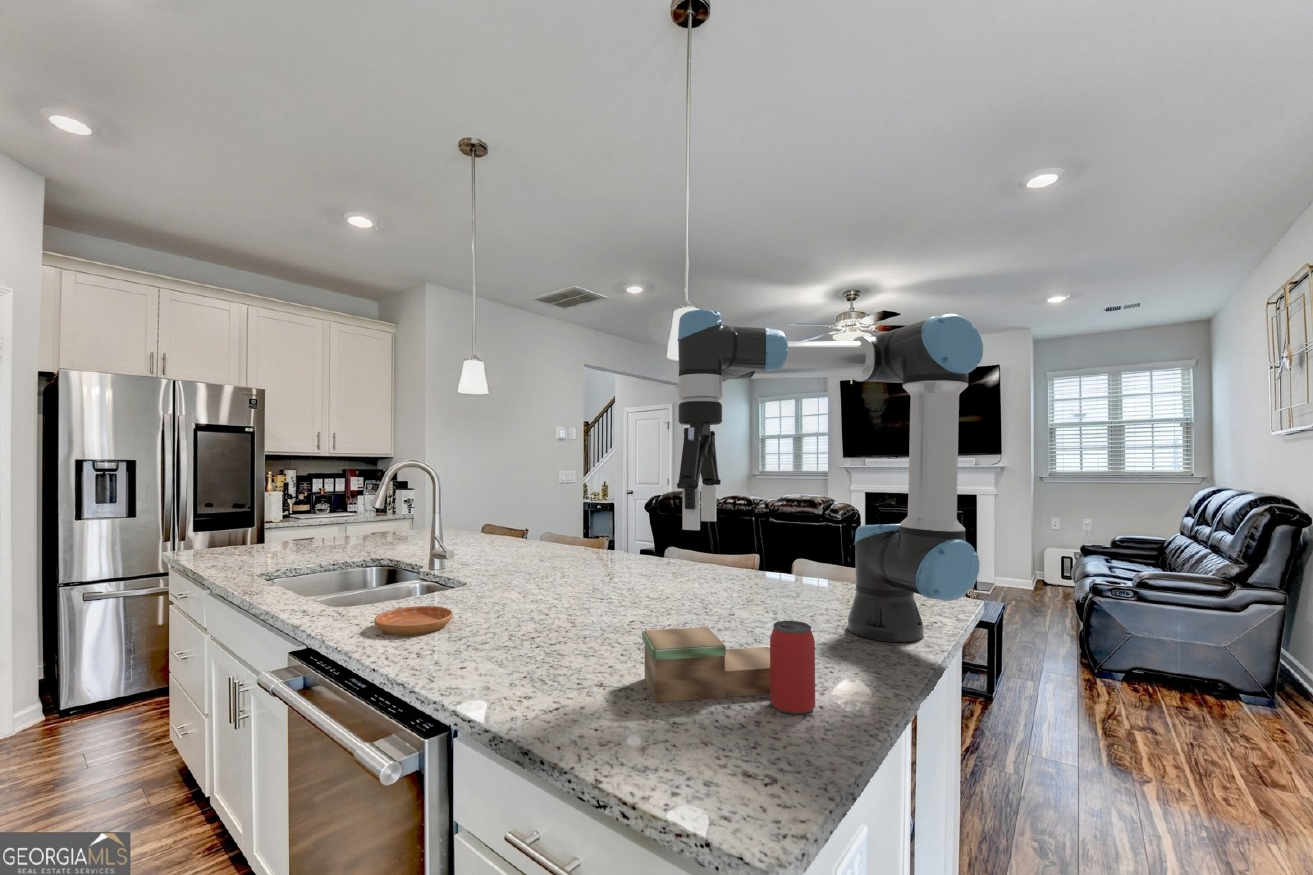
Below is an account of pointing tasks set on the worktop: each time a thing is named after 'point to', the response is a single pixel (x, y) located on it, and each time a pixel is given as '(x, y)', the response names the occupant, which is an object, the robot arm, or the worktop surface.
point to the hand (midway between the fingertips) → (700, 525)
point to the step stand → (701, 666)
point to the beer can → (792, 667)
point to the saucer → (413, 620)
